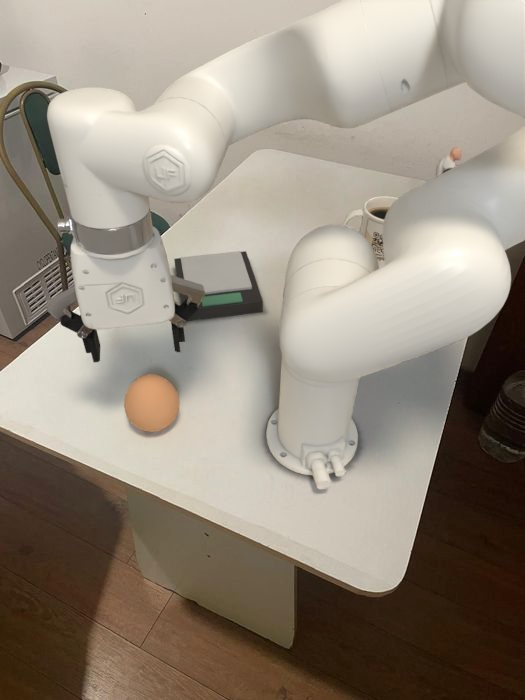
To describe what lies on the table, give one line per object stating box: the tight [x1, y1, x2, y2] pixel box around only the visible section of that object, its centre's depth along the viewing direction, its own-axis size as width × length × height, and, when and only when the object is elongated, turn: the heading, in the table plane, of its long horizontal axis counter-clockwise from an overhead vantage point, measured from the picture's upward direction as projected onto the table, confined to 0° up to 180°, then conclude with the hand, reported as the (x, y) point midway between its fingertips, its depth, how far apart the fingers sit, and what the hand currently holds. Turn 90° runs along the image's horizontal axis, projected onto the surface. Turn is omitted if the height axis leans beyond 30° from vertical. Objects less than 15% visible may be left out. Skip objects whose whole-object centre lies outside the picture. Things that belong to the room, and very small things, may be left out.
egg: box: [123, 373, 180, 433], centre depth 70 cm, size 7×7×8 cm
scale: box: [173, 250, 264, 322], centre depth 94 cm, size 16×14×3 cm
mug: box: [341, 195, 399, 268], centre depth 100 cm, size 10×12×11 cm
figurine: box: [435, 146, 462, 177], centre depth 106 cm, size 15×9×18 cm, turn 166°
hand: (137, 349), depth 63 cm, fingers open, 9 cm apart
